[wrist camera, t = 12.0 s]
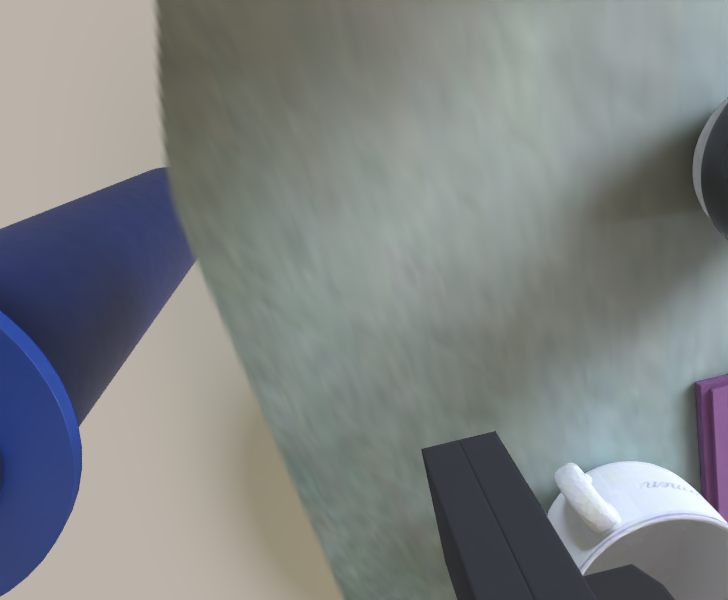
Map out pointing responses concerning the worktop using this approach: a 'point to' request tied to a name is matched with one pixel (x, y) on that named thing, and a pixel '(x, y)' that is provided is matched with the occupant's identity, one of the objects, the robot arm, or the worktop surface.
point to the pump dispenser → (713, 168)
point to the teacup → (642, 527)
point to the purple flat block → (713, 441)
